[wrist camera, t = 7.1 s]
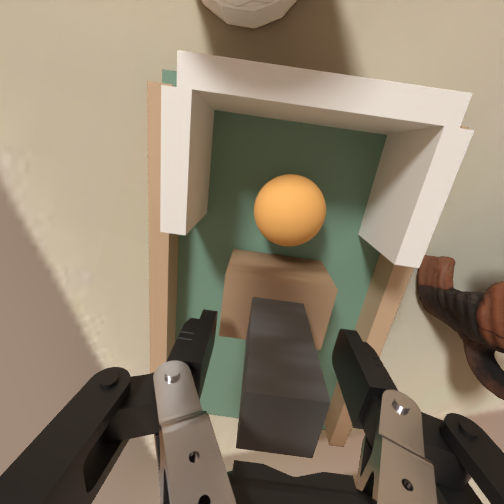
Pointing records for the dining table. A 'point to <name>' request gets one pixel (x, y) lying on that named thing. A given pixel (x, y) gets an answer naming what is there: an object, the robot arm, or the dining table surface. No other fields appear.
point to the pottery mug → (467, 318)
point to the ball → (289, 210)
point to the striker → (279, 348)
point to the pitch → (300, 163)
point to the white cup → (249, 11)
